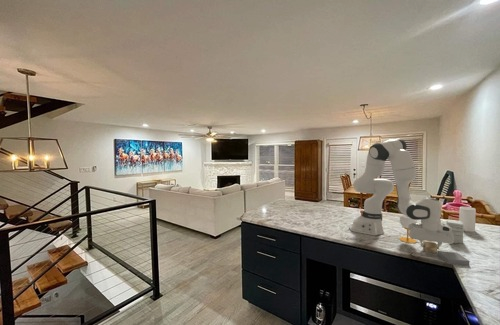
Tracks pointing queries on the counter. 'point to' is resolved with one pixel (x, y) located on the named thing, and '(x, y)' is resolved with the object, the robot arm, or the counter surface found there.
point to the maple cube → (430, 246)
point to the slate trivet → (453, 258)
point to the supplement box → (456, 230)
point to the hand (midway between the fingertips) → (429, 247)
